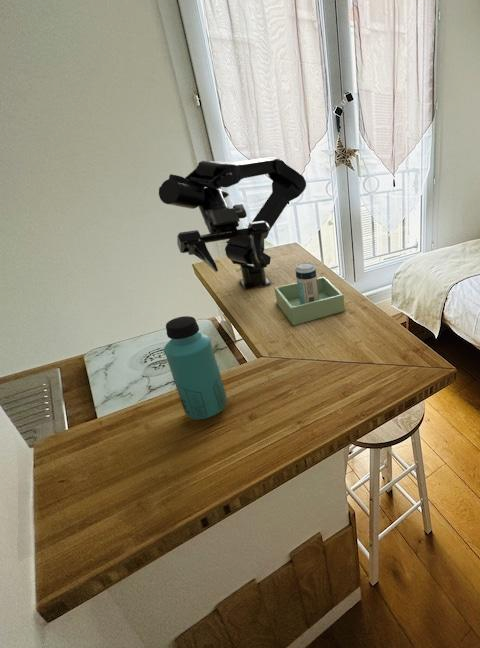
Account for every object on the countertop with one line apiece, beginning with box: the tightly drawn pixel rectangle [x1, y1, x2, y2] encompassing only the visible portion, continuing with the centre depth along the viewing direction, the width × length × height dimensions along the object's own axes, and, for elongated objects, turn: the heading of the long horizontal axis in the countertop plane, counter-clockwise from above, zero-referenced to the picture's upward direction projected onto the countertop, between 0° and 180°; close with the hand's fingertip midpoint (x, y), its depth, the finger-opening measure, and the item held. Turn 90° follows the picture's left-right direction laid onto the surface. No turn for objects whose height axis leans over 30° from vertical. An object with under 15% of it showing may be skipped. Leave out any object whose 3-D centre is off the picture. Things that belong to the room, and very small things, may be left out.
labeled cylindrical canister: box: [294, 262, 319, 305], centre depth 105 cm, size 5×5×12 cm
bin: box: [273, 276, 345, 326], centre depth 107 cm, size 13×13×5 cm
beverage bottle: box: [163, 315, 228, 420], centre depth 68 cm, size 6×7×20 cm
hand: (238, 266), depth 96 cm, fingers open, 9 cm apart
